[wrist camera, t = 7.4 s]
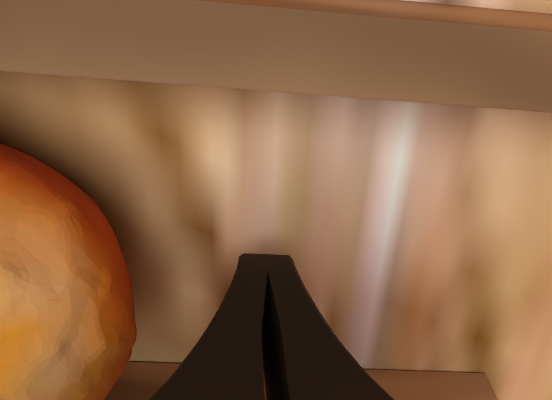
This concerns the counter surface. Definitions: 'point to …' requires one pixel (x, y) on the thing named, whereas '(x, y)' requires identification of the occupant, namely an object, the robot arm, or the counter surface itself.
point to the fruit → (58, 288)
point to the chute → (295, 78)
